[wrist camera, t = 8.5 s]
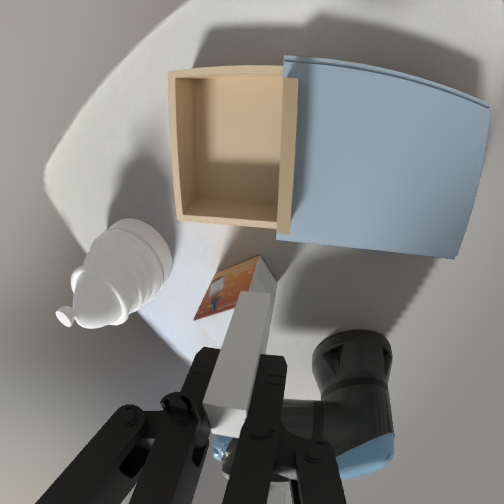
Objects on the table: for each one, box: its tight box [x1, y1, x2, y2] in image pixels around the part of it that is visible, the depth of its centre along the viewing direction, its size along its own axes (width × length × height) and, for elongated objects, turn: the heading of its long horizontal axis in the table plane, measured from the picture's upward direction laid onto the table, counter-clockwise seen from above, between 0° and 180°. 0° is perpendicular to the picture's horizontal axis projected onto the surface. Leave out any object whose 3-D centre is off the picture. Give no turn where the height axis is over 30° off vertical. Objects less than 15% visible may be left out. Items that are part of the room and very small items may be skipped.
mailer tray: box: [168, 65, 283, 229], centre depth 28 cm, size 17×22×6 cm
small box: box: [194, 255, 277, 347], centre depth 38 cm, size 8×6×10 cm
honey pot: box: [56, 218, 173, 329], centre depth 36 cm, size 13×13×18 cm
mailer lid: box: [276, 55, 490, 259], centre depth 24 cm, size 19×22×6 cm
